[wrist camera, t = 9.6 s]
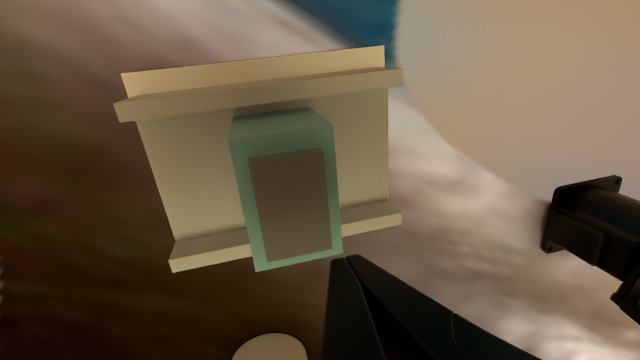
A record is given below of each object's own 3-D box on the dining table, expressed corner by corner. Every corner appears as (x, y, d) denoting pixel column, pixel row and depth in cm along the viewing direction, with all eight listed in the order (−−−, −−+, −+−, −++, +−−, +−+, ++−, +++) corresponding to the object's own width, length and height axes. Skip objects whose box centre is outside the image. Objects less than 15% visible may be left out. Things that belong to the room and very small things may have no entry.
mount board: (377, 46, 18) (412, 42, 15) (381, 207, 23) (409, 238, 19) (127, 72, 16) (89, 77, 12) (183, 246, 20) (168, 291, 17)
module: (233, 116, 16) (226, 144, 11) (309, 106, 16) (337, 128, 11) (253, 218, 18) (256, 281, 13) (319, 206, 19) (347, 261, 14)
